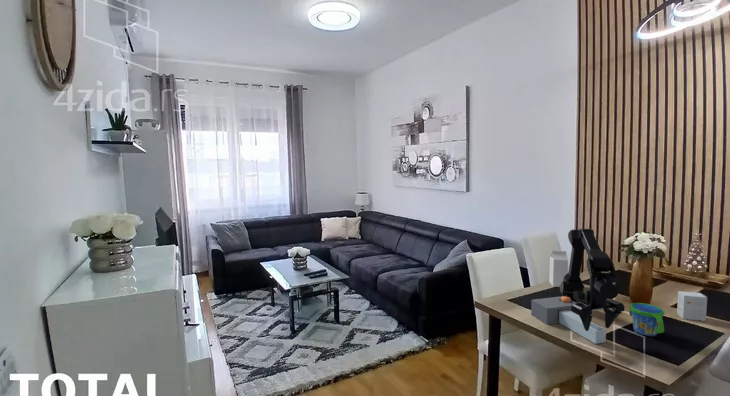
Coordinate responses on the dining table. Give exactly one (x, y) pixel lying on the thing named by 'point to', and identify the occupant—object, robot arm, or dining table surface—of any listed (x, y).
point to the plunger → (565, 299)
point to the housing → (549, 309)
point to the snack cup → (647, 319)
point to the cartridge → (582, 327)
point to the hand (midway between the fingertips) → (596, 329)
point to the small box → (692, 306)
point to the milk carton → (558, 267)
